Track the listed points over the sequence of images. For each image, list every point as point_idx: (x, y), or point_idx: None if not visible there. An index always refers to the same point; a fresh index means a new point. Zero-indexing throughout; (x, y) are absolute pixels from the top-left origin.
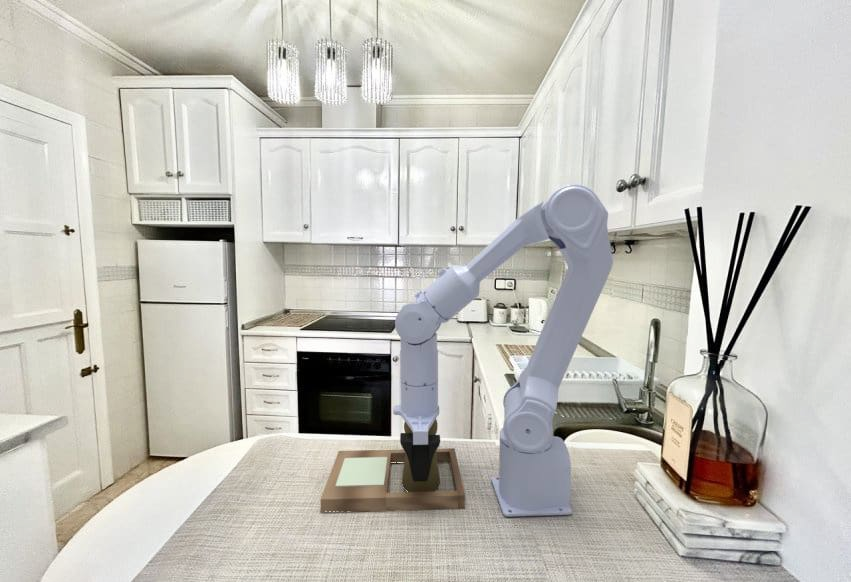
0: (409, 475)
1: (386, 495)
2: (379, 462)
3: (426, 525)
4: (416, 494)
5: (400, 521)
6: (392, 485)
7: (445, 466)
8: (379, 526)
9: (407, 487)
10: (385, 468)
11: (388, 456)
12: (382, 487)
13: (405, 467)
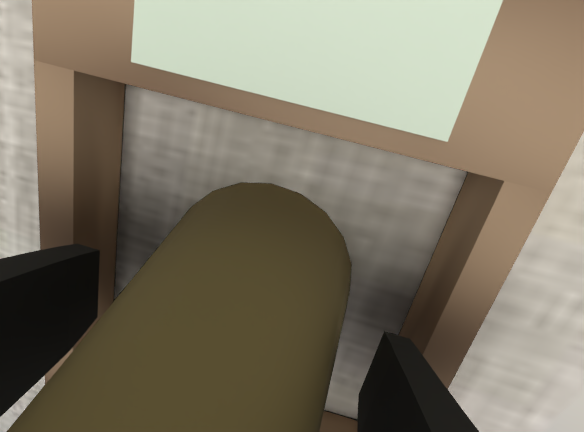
0: (172, 236)
1: (47, 65)
2: (394, 65)
3: (16, 215)
4: (53, 228)
5: (34, 122)
6: (271, 133)
7: (341, 398)
8: (6, 20)
9: (201, 202)
10: (301, 101)
11: (462, 153)
12: (119, 50)
13: (204, 234)
